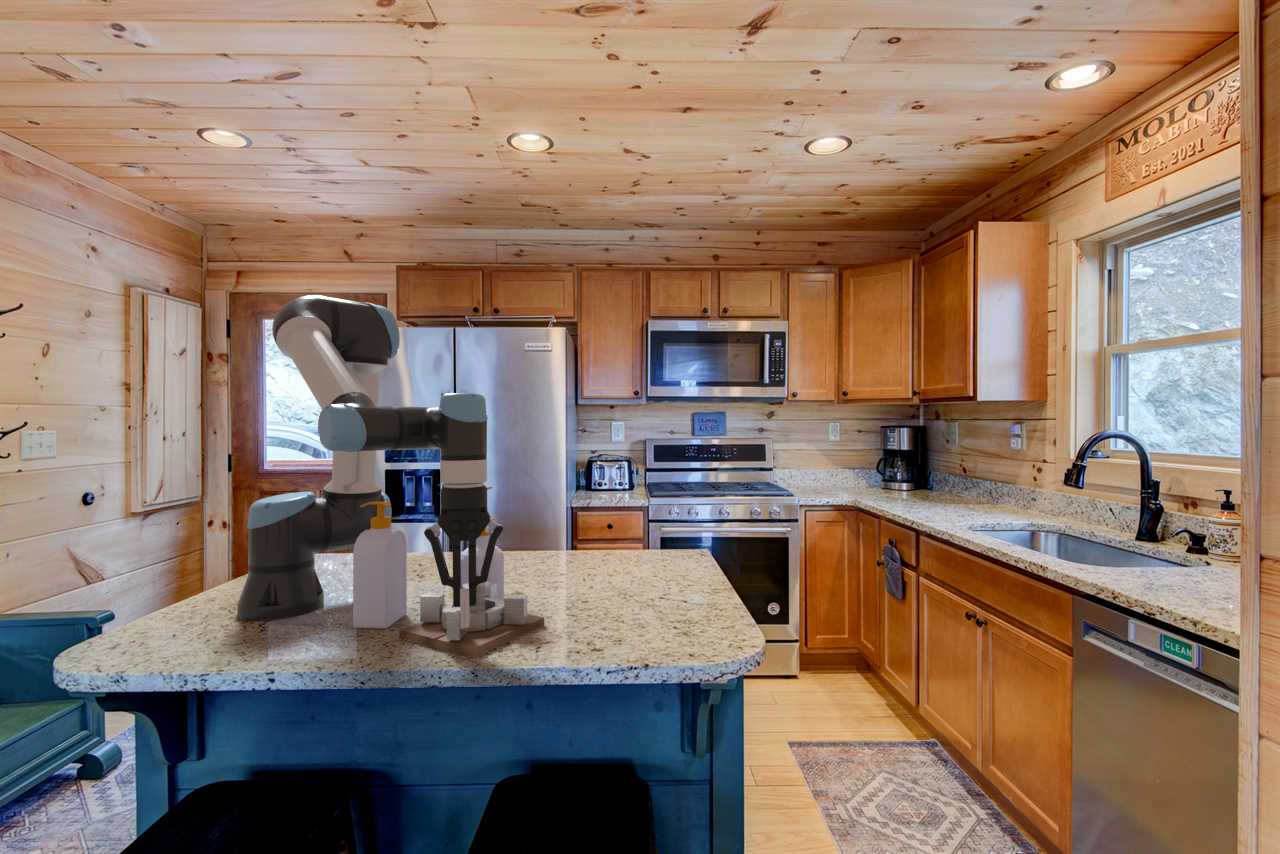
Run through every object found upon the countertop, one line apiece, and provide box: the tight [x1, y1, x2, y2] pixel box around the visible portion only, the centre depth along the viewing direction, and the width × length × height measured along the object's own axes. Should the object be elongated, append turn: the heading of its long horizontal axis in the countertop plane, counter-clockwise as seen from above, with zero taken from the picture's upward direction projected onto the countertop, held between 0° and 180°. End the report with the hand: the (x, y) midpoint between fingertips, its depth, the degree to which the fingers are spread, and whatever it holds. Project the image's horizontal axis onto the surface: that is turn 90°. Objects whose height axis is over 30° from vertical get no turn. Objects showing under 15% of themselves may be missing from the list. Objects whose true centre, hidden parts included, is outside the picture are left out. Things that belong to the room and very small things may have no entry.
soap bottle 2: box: [461, 486, 505, 601], centre depth 125 cm, size 9×9×25 cm
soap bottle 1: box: [352, 501, 408, 629], centre depth 112 cm, size 9×7×23 cm
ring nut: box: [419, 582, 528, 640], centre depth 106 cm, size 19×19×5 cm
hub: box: [398, 583, 545, 659], centre depth 106 cm, size 18×18×8 cm
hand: (465, 625), depth 98 cm, fingers closed
